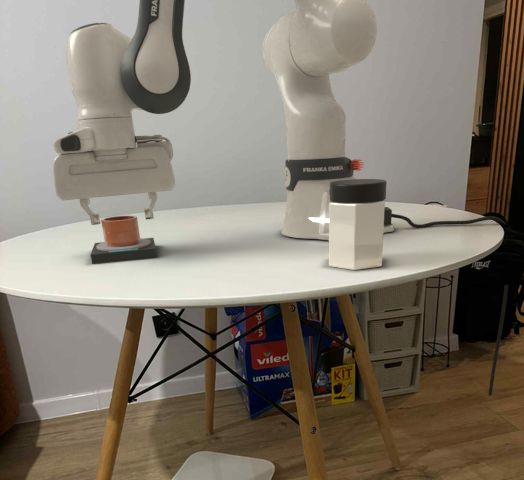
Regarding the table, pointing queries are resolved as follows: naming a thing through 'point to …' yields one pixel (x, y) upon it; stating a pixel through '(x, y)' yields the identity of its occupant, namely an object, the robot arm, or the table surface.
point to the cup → (120, 231)
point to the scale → (123, 251)
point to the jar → (356, 223)
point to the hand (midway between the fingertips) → (123, 221)
